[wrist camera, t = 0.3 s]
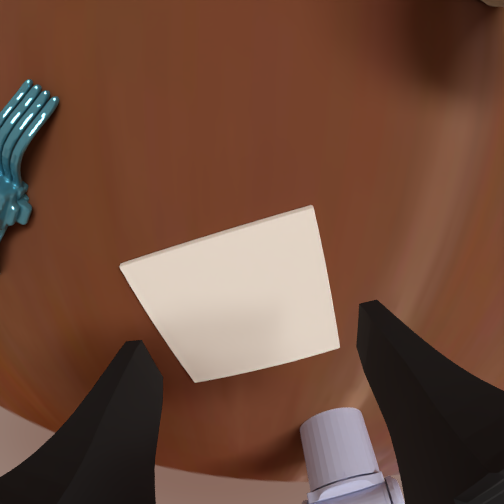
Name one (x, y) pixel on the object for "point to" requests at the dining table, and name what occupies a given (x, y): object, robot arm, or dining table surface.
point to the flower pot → (494, 3)
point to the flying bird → (19, 149)
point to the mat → (240, 296)
